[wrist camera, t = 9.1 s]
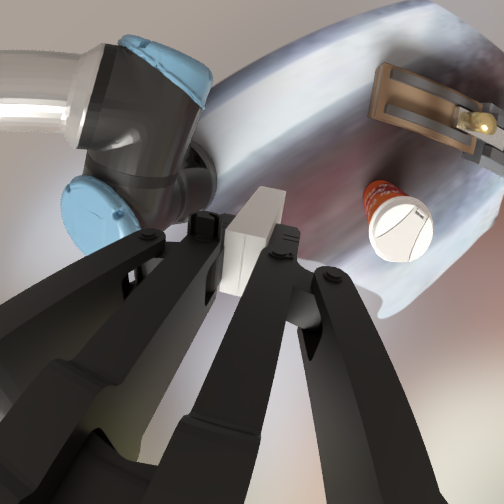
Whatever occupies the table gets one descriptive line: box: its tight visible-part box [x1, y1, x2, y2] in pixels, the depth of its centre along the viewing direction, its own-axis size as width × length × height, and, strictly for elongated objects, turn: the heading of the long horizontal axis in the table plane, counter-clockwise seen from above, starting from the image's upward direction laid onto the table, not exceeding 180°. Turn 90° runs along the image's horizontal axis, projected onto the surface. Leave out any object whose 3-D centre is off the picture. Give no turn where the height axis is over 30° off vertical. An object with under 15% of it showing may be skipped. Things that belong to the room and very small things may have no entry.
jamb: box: [462, 103, 504, 177], centre depth 29 cm, size 6×10×9 cm, turn 171°
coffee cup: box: [363, 180, 433, 262], centre depth 36 cm, size 8×8×15 cm
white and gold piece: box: [451, 107, 504, 151], centre depth 24 cm, size 9×3×8 cm, turn 81°
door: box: [368, 63, 483, 155], centre depth 31 cm, size 16×8×8 cm, turn 81°
